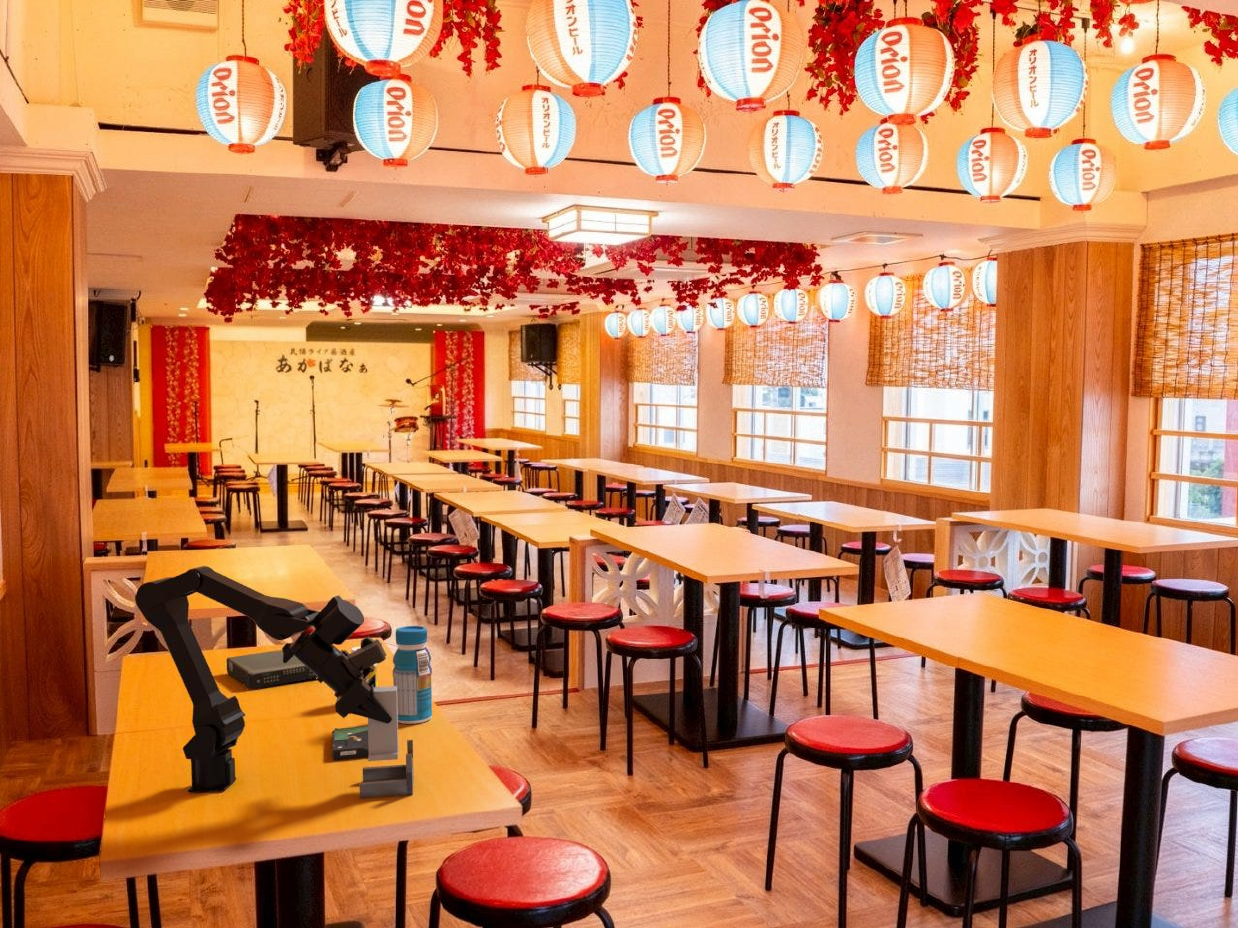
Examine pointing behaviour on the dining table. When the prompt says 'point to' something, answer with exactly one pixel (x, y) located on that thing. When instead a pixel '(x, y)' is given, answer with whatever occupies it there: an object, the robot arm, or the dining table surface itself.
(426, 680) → the beverage bottle
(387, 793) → the rack
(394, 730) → the grey block
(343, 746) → the disk drive
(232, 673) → the network switch
